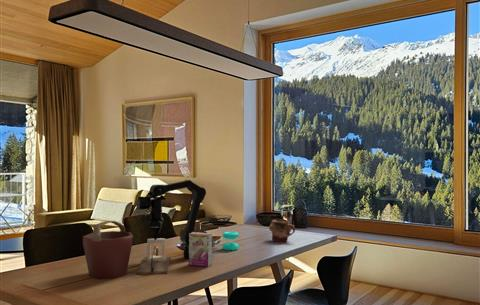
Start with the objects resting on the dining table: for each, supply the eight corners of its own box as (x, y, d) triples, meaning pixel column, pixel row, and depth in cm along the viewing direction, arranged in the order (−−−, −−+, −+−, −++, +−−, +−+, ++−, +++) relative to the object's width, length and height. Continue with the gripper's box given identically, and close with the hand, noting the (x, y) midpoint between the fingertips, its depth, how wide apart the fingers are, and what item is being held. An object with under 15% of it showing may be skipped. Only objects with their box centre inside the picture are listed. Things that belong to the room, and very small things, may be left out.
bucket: (102, 284, 192) (103, 226, 192) (70, 276, 203) (70, 222, 204) (142, 271, 212) (143, 220, 213) (111, 265, 224) (111, 216, 224)
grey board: (170, 258, 240) (170, 256, 240) (167, 273, 209) (167, 271, 209) (144, 259, 239) (144, 256, 239) (137, 274, 208) (137, 271, 208)
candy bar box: (188, 265, 225) (188, 233, 225) (192, 263, 230) (192, 231, 230) (208, 267, 221) (208, 234, 222) (212, 265, 226) (212, 233, 226)
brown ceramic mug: (299, 241, 290) (299, 220, 290) (291, 244, 280) (291, 222, 280) (273, 238, 301) (273, 218, 301) (264, 241, 291) (264, 220, 291)
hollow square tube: (165, 258, 235) (165, 238, 235) (164, 260, 230) (164, 239, 230) (148, 258, 234) (148, 238, 234) (147, 261, 229) (147, 240, 229)
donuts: (221, 233, 261) (223, 231, 271) (221, 250, 261) (223, 247, 271) (237, 234, 260) (239, 231, 270) (237, 251, 260) (239, 247, 270)
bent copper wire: (158, 257, 238) (158, 241, 238) (153, 271, 209) (153, 253, 209) (155, 257, 238) (155, 241, 238) (150, 271, 209) (151, 253, 209)
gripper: (142, 206, 241) (142, 235, 241) (138, 210, 222) (138, 241, 222) (163, 206, 242) (163, 235, 242) (161, 210, 223) (160, 241, 223)
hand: (156, 238), depth 232 cm, fingers open, 9 cm apart
